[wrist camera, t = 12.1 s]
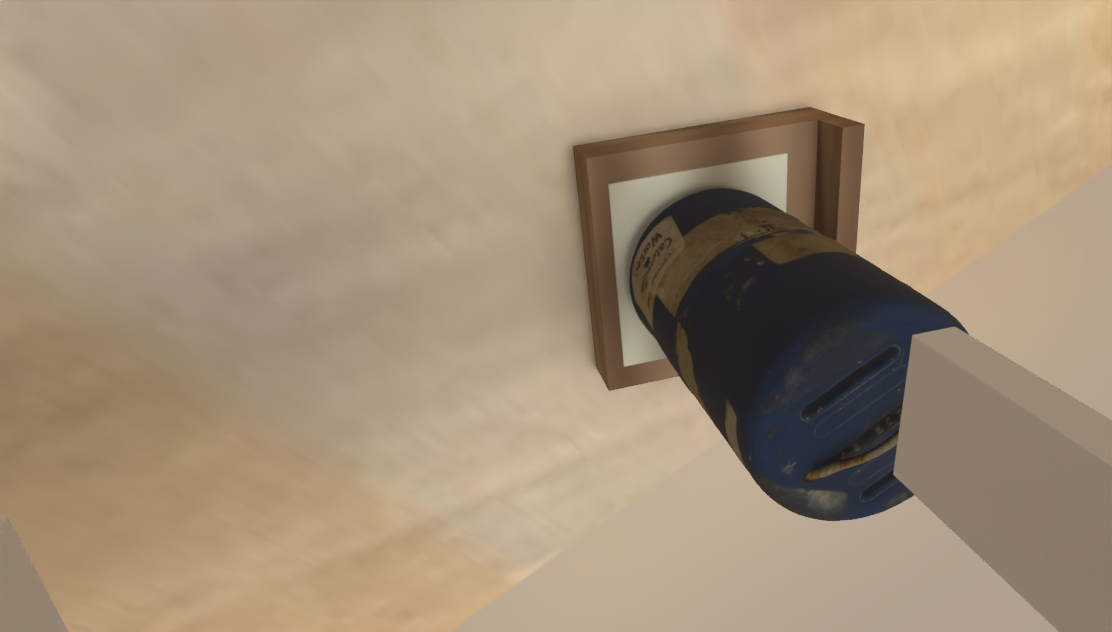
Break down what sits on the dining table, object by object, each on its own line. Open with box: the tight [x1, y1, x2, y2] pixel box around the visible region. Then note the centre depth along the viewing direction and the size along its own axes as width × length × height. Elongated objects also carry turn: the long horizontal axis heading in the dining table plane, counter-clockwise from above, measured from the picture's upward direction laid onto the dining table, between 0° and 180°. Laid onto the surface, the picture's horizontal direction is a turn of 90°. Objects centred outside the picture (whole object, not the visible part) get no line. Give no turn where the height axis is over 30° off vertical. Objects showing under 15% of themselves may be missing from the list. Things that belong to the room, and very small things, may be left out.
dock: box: [573, 107, 865, 391], centre depth 42 cm, size 14×14×5 cm
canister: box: [629, 188, 969, 521], centre depth 34 cm, size 10×10×18 cm
